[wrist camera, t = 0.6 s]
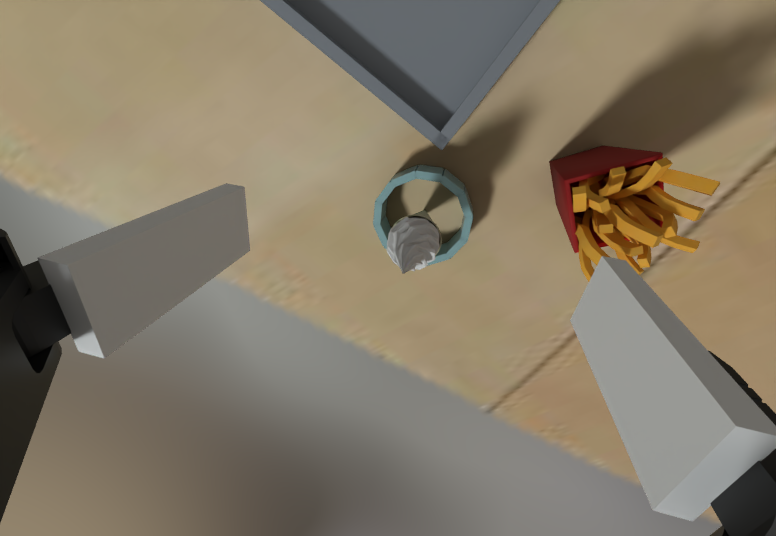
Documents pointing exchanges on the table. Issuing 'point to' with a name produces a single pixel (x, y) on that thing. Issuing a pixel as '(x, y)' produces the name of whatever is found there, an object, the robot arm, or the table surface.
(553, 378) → the table surface
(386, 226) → the teal ring
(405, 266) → the soft serve swirl
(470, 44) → the tray
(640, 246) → the french fries
